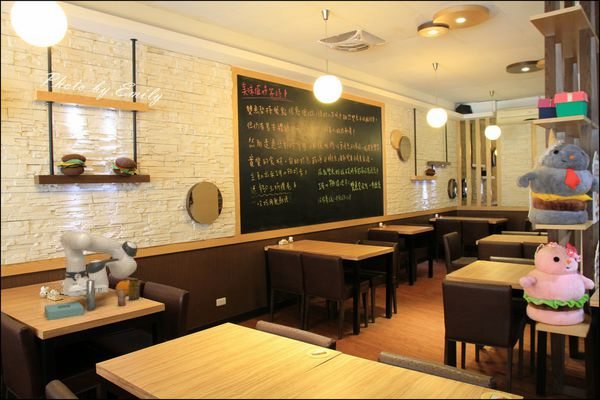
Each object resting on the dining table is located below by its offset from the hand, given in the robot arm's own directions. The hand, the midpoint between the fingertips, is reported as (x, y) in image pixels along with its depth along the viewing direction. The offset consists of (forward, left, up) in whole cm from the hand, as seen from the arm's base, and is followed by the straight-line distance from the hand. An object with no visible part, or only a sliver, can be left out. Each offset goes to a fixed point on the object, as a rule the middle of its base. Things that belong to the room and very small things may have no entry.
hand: (90, 292), depth 238 cm
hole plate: (-1, -13, -10) cm, 16 cm away
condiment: (-12, +26, -10) cm, 30 cm away
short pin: (-1, +16, -10) cm, 19 cm away
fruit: (-27, +25, -10) cm, 38 cm away
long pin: (-1, 0, -10) cm, 10 cm away
